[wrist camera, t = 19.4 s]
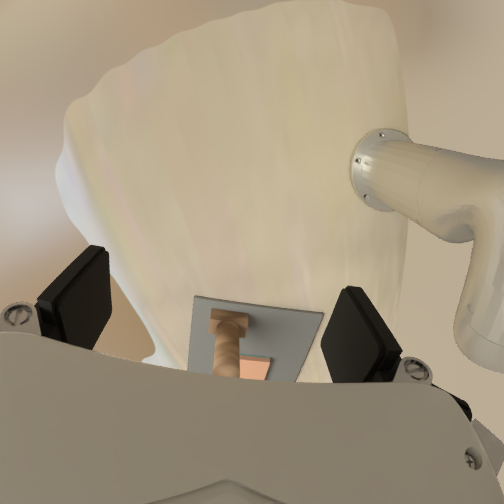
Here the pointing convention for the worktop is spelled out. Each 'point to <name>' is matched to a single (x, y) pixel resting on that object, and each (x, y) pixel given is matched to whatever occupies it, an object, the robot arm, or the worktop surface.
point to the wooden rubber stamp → (227, 340)
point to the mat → (256, 336)
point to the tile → (253, 366)
